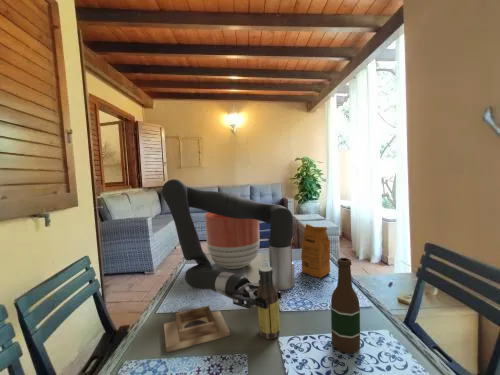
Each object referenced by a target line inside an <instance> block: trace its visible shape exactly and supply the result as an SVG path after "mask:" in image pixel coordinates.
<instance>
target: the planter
mask: <svg viewBox="0 0 500 375" xmlns="http://www.w3.org/2000/svg"><path fill="white" fill-rule="evenodd" d="M204 221H205V236H206V247H207V252H208V255H209V257H210V259H211V261H212V262H214V263H215V265H218V266H219V267H221V268H222V269H227V270H228V269H229V270H236V269H242V268H245V267H247V266H248V265H249V264H251V263H252V262H253V261H254V260H255V259H256V258H257V255H258V253H259V250H260V221H259V220H255V219H236V218H229V217H225V216H220V215H217V214H213V213H210V212H207V213H205V214H204Z"/></svg>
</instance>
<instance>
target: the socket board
mask: <svg viewBox="0 0 500 375" xmlns="http://www.w3.org/2000/svg"><path fill="white" fill-rule="evenodd" d="M163 329H164V330H163V331H164V332H163V333H164V339H165V340H164V341H165V351H166V353H167V354H168V353H170V352H174V351H177V350H178V351H179V350H180V349H185V348H188V347H192V346H195V345H200V344H204V343H207V342H211V341H215V340H218V339H222V338H225V337H229V336H230V335H231V331H230V329H229V327H228V325H227V322H226V321H225V319H224V316H223V315H222V313H221V310H217V311H213V312H212V311H211V308H210V306H209V305H206V306H202V307H197V308H192V309H188V310H185V311H184V310H183V311H180V312H176V313H175V320H174V321H171V322H165V323H163Z"/></svg>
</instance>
